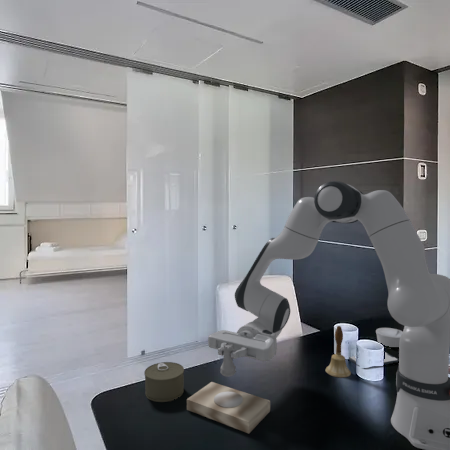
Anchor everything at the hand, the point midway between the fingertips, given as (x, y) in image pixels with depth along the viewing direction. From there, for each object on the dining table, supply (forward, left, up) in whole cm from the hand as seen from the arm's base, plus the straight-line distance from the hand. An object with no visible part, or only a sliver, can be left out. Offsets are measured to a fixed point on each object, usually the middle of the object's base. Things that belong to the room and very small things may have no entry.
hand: (226, 354), depth 100 cm
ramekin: (-30, -77, -17) cm, 84 cm away
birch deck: (0, -1, -16) cm, 16 cm away
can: (+22, +1, -17) cm, 28 cm away
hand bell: (-19, -41, -17) cm, 48 cm away
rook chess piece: (0, -1, -6) cm, 6 cm away
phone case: (-28, -56, -17) cm, 65 cm away
